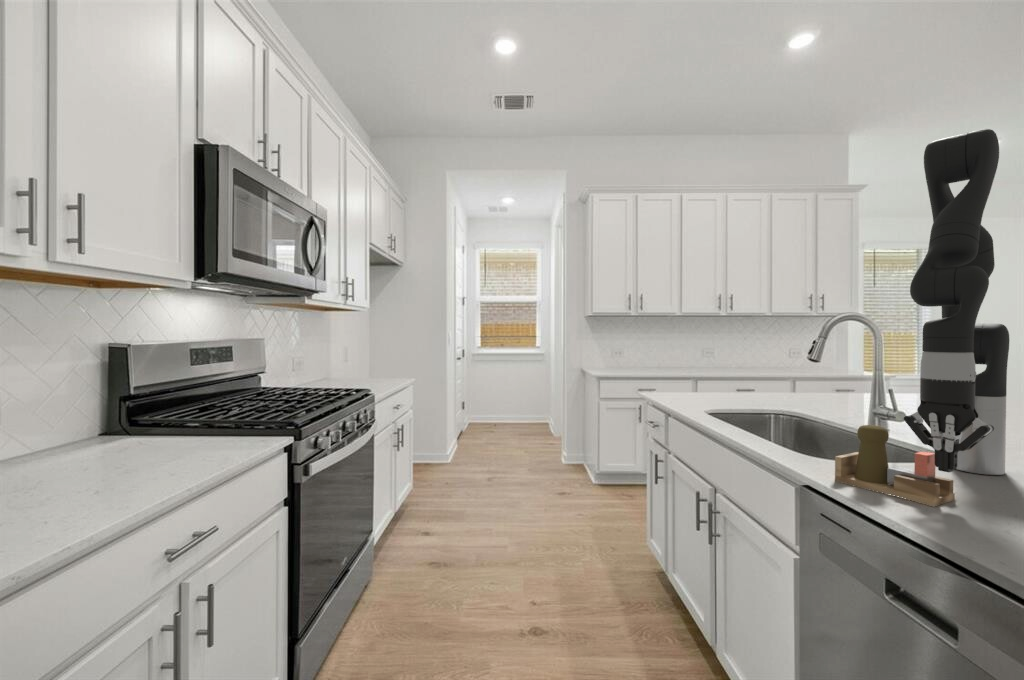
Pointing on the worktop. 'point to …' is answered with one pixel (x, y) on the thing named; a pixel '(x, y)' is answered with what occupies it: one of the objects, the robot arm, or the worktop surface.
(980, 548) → the worktop surface
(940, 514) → the worktop surface
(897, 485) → the light brown wooden holder
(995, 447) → the robot arm
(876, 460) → the olive rounded piece
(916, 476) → the red grey l-shaped block
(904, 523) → the worktop surface
